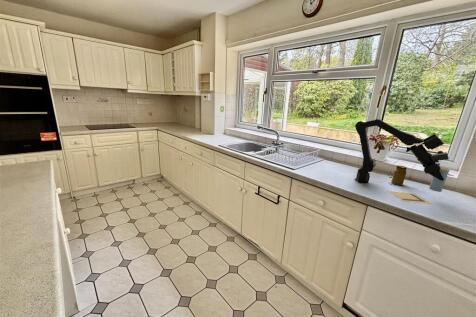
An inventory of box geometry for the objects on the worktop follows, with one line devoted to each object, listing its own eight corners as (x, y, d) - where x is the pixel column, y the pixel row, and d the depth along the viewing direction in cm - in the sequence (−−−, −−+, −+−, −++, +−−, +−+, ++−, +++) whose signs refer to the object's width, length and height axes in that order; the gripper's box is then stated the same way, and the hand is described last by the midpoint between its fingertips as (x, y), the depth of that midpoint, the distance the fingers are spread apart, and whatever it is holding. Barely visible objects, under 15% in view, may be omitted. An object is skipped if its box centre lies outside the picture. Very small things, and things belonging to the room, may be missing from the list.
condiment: (392, 181, 138) (397, 164, 135) (407, 185, 132) (413, 167, 129) (388, 183, 134) (393, 165, 130) (404, 188, 128) (410, 169, 124)
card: (403, 202, 108) (403, 201, 108) (387, 191, 120) (387, 191, 120) (433, 205, 107) (433, 204, 107) (414, 194, 120) (414, 193, 119)
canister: (436, 192, 108) (444, 170, 105) (426, 187, 113) (433, 167, 110) (444, 191, 109) (452, 170, 106) (434, 187, 114) (441, 167, 111)
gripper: (440, 148, 100) (464, 176, 97) (438, 144, 114) (459, 168, 110) (414, 160, 107) (436, 186, 104) (416, 154, 121) (435, 177, 117)
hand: (442, 179), depth 108 cm, fingers closed on canister, 5 cm apart
